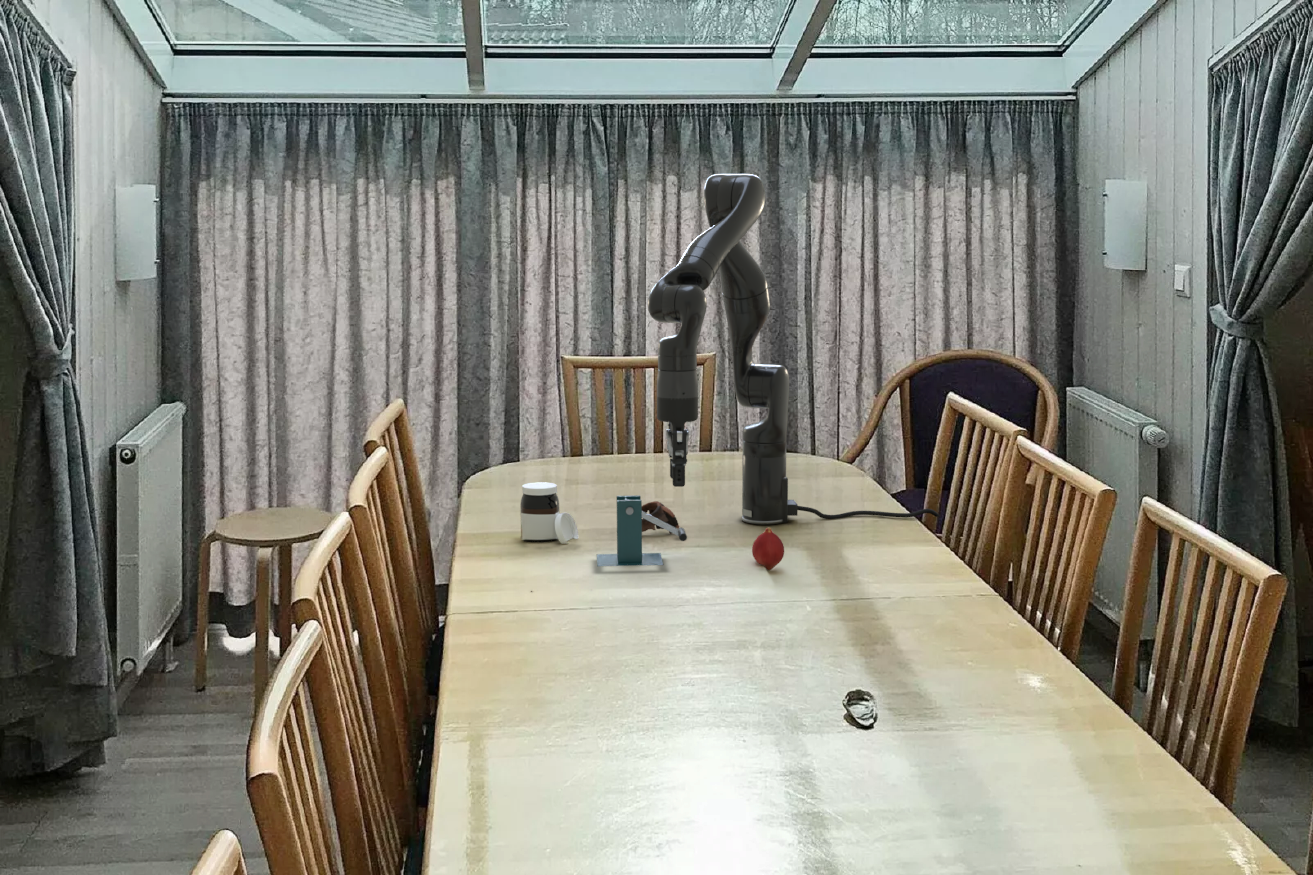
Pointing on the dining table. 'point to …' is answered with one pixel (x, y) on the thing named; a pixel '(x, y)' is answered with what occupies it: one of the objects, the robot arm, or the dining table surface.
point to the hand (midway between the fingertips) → (677, 482)
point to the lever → (665, 525)
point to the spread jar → (544, 515)
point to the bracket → (629, 537)
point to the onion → (768, 549)
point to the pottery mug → (658, 516)
